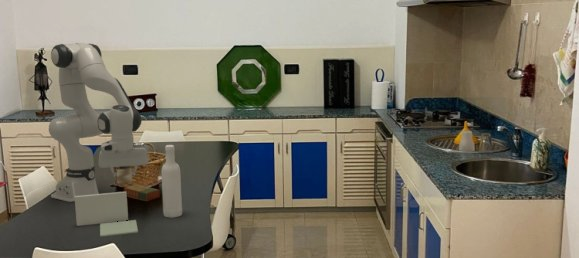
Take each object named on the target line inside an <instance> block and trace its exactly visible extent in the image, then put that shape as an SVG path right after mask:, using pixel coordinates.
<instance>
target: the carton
mask: <svg viewBox="0 0 579 258" xmlns="http://www.w3.org/2000/svg"><path fill="white" fill-rule="evenodd" d="M125 191H126V193H127V197H128V198H131V199H136V200H139V201H144V202H150V201H151V200H152V201H153V200H155V199H159V198H160V195H161V194H160V193H161V192H160V189H157V188H154V187H150V186H149V187H148V186H145V185H142V184H141V185H140V184H134V185H133V184H132V185H131V186H126V187H124V188H123V192H125Z"/></svg>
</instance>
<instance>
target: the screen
mask: <svg viewBox="0 0 579 258" xmlns="http://www.w3.org/2000/svg"><path fill="white" fill-rule="evenodd" d="M74 205H75V207H74V208H75V218H76V221H75V222H76V227H79V226H89V225H98V224H99V225H100V224H102V223H112V222H117V221H118V222H121V221H126V220H128V221H129V212H128V211H129V210H128V209H129V208H128V198H127V193H126V191H125V192H124V191H117V192H105V193H104V192H103V193H99V194H93V195H82V196H75V201H74Z"/></svg>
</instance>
